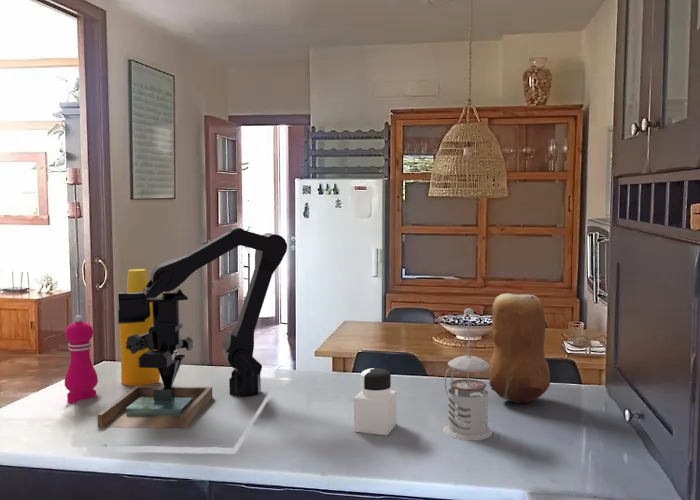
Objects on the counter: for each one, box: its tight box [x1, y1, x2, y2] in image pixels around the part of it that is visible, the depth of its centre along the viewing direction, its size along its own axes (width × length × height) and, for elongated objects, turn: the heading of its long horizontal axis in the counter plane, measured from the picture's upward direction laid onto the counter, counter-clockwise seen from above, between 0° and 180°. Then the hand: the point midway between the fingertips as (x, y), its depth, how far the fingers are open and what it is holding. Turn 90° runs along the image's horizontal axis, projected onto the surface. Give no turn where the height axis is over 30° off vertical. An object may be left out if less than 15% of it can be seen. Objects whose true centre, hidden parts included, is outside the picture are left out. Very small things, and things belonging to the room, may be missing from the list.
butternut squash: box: [488, 292, 551, 405], centre depth 151 cm, size 14×13×25 cm
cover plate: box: [126, 387, 193, 416], centre depth 144 cm, size 12×8×4 cm, turn 86°
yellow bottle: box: [119, 268, 161, 387], centre depth 166 cm, size 9×9×29 cm
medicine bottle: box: [353, 367, 398, 436], centre depth 135 cm, size 7×7×12 cm
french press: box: [443, 308, 493, 441], centre depth 133 cm, size 10×12×25 cm
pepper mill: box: [64, 314, 99, 405], centre depth 154 cm, size 7×7×20 cm
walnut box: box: [96, 385, 214, 430], centre depth 143 cm, size 18×20×4 cm
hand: (168, 388), depth 149 cm, fingers closed
